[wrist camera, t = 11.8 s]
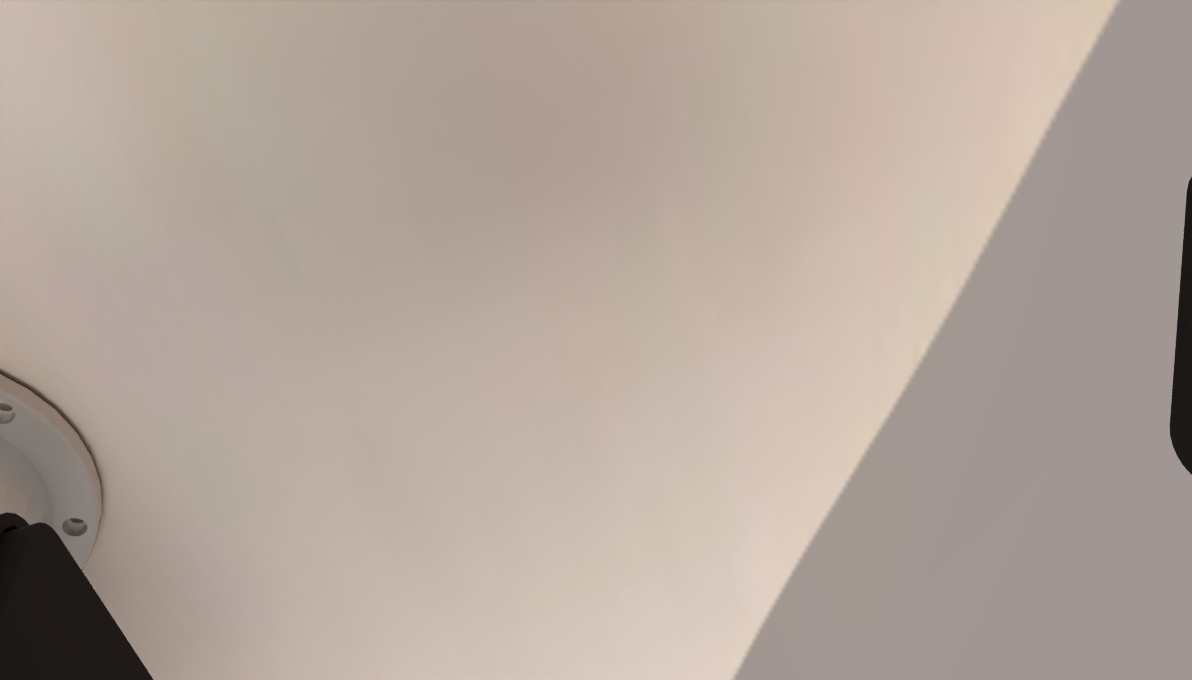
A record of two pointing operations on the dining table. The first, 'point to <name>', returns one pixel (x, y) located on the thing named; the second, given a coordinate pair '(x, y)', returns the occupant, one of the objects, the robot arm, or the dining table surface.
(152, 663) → the dining table surface
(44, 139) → the dining table surface
